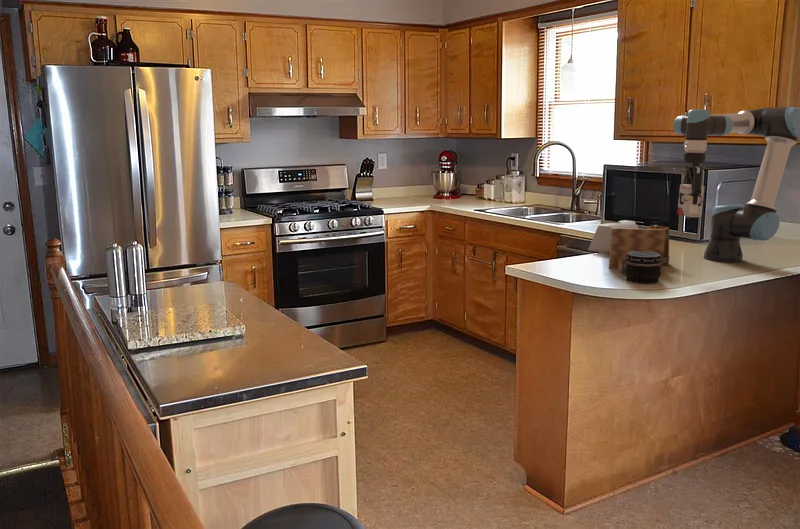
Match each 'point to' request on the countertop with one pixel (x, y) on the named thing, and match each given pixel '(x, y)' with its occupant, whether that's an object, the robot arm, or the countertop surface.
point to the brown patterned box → (634, 244)
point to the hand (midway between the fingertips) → (689, 211)
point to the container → (643, 267)
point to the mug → (666, 244)
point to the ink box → (685, 201)
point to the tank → (607, 235)
